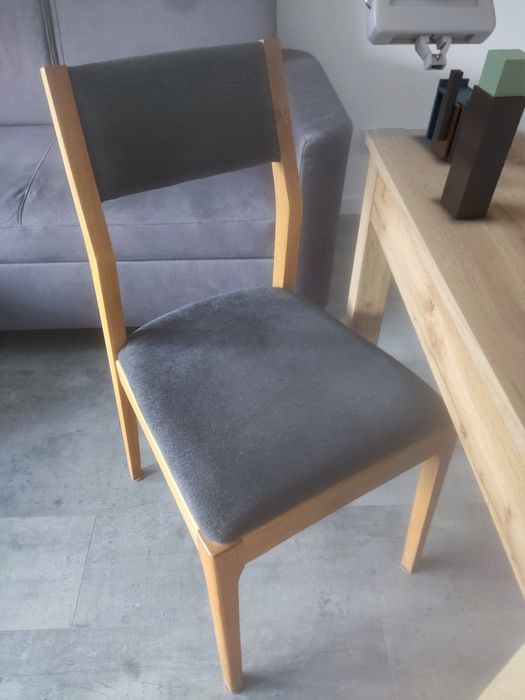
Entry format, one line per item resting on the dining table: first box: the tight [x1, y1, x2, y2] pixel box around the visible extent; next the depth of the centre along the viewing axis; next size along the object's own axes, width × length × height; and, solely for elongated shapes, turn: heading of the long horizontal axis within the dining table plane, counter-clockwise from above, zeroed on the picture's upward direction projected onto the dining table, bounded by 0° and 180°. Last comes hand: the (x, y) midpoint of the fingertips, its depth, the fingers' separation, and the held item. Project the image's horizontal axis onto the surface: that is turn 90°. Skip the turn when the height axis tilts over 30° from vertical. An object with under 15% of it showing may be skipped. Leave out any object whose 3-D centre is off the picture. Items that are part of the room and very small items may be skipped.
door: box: [429, 68, 465, 160], centre depth 82 cm, size 2×5×13 cm, turn 10°
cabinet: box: [424, 77, 473, 164], centre depth 85 cm, size 6×10×10 cm, turn 11°
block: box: [477, 48, 525, 97], centre depth 62 cm, size 4×4×4 cm
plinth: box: [439, 84, 525, 220], centre depth 68 cm, size 4×5×16 cm
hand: (435, 68), depth 82 cm, fingers closed
